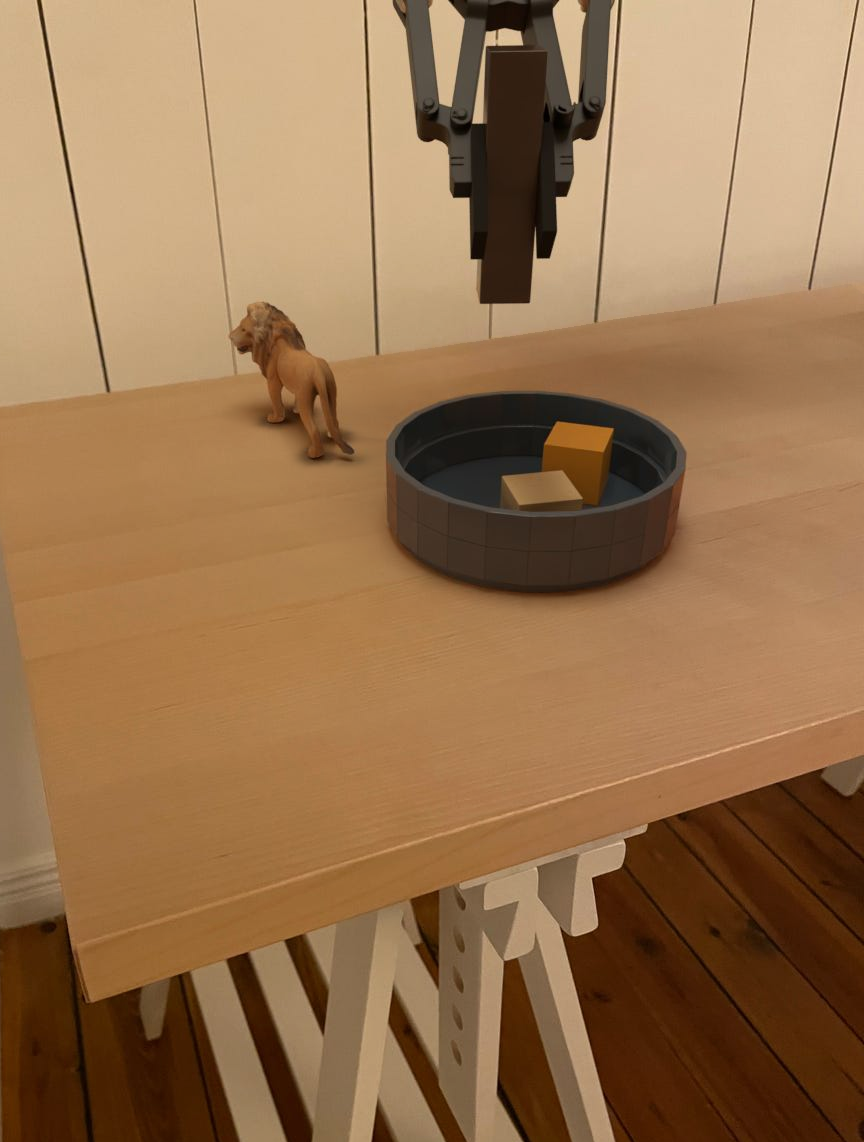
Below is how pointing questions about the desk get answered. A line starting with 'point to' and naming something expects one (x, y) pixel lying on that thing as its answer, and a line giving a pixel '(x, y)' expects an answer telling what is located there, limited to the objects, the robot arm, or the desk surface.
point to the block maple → (539, 492)
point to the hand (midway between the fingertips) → (512, 245)
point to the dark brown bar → (511, 169)
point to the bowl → (515, 446)
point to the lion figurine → (290, 370)
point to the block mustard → (580, 457)
